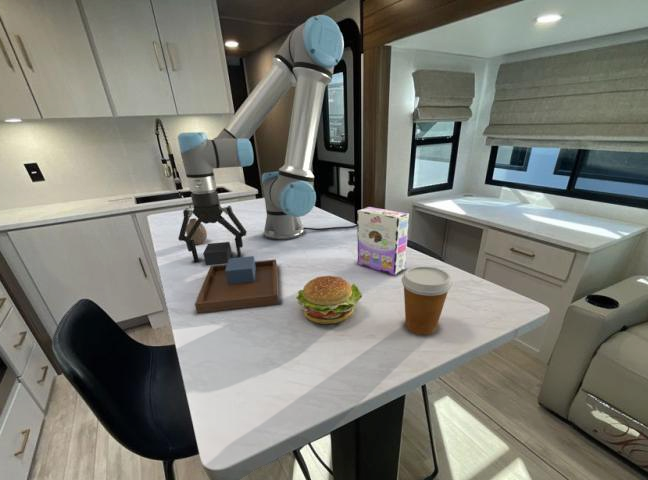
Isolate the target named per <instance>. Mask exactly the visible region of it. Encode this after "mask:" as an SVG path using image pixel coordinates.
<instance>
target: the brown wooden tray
mask: <svg viewBox="0 0 648 480" xmlns="http://www.w3.org/2000/svg"><path fill="white" fill-rule="evenodd" d="M209 266H210V267H209V269H208V271H207V274H206V276H205V278H204V281H203V283H202V286H201V288H200V290H199V293H198V296H197V298H196V301H195V303H194V306H195V310H196V313H197V314H204V313H213V312H221V311H229V310H238V309H239V310H240V309H246V308H257V307H265V306H272V305H273V306H274V305H279V304H280V303H279V301H280V300H279V280H278V279H279V278H278V276H279V275H278V264H277V259H266V260H255V266H256V272H255V281H254V282H248V283H238V284H228V283H227V278H226V274H225V269H226V266H227V263H223V264H212V265H209Z"/></svg>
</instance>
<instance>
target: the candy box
mask: <svg viewBox="0 0 648 480" xmlns="http://www.w3.org/2000/svg"><path fill="white" fill-rule="evenodd" d="M356 212H357V213H356V214H357V215H356V216H357V218H356V219H357V220H356V223H357V224H356V225H357V229H356V230H357V235H356V236H357V264H358V265H360V266H363V267H366V268H371V269H373V270H377V271H379V272H383V273H387V274H389V275H393V276H396V275H397V274H399V273H401V272H403V271H404V270H405V269H406V259H407V248H408V238H409V237H408V236H409V234H408V233H409V222H410V213H408V212H401V211H395V210H390V209H384V208H378V207H373V206H367V207H364V208H362V209H358V210H357V211H356Z"/></svg>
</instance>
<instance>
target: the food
mask: <svg viewBox="0 0 648 480" xmlns="http://www.w3.org/2000/svg"><path fill="white" fill-rule="evenodd" d="M362 298H363V295H362V293H361V291H360V289H359V288H358V286H357V285H356V284H355V283H352V285H351V284H350V283H349V282H348V281H347V280H346V279H344V278H341V277H339V276H335V275H321V276H318V277H315V278H313V279H310V280H308V282H307V283H305V285H304V286H303V289H299V290H298V292H297V296H296V297H295V299H296V300H297V304H298V305H299V306H300V307H301V310H302V313H303V314H304V317H305V318H306V319H308V321H311V322H313V323H316V324H321V325H323V324H324V325H328V324H337V323H340V322H343V321H345V320H347V319H349V318H350V317H351V315H353V313H354V308H355V307H354V306H355V305H357V303H358V302H359V301H360V299H362Z"/></svg>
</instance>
